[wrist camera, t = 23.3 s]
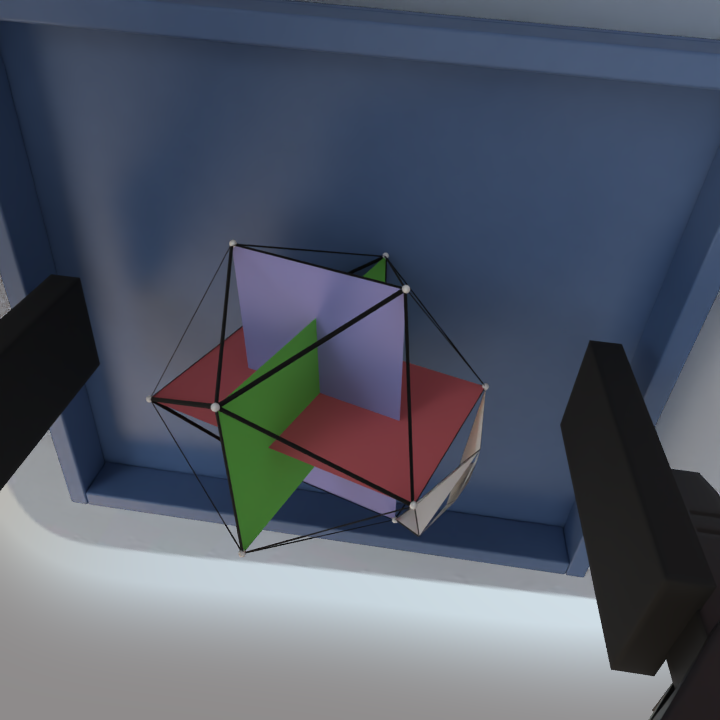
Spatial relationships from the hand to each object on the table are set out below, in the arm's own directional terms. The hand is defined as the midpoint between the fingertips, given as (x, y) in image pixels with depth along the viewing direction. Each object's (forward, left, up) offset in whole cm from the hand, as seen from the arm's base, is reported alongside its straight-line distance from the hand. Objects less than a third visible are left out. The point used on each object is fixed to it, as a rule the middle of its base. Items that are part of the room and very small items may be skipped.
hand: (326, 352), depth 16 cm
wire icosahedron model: (0, 0, -2) cm, 2 cm away
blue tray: (0, 0, -2) cm, 2 cm away
